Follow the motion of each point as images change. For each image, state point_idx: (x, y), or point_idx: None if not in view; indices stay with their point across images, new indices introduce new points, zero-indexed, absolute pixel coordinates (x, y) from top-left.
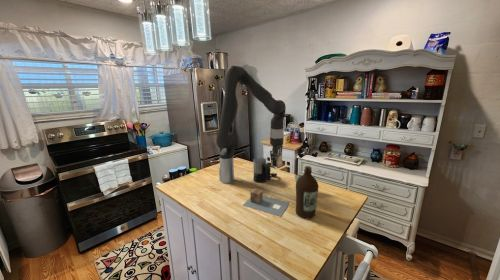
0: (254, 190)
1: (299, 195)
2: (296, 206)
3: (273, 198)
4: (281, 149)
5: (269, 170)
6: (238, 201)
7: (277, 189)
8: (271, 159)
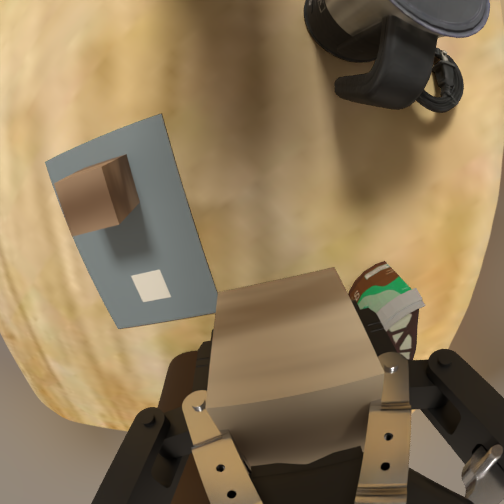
0: (82, 185)
1: None
2: (168, 381)
3: (197, 234)
4: (462, 460)
5: (381, 106)
6: (52, 117)
7: (308, 187)
8: (140, 424)
